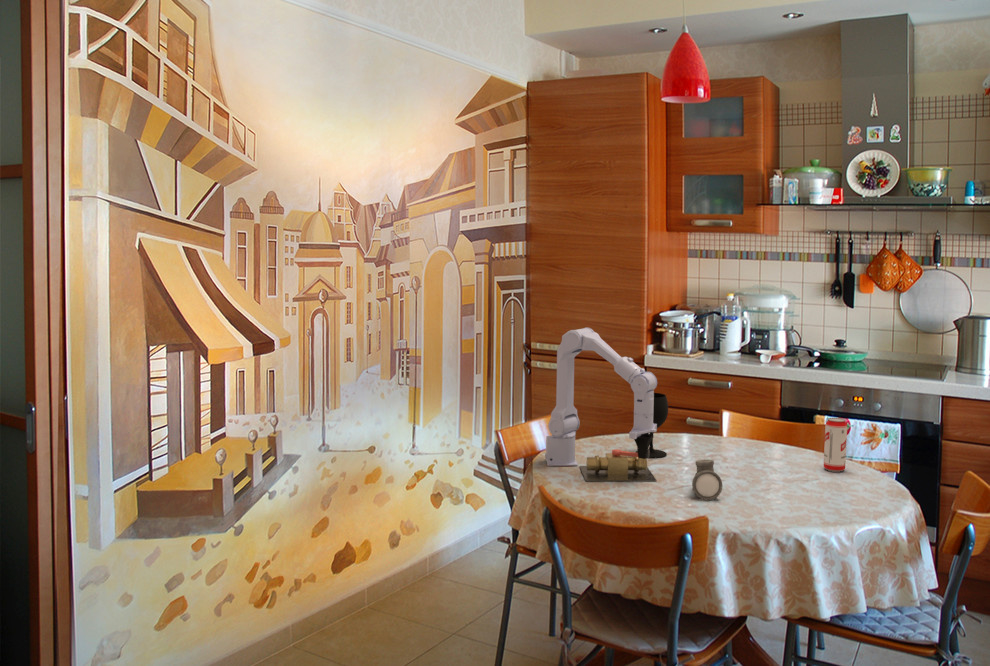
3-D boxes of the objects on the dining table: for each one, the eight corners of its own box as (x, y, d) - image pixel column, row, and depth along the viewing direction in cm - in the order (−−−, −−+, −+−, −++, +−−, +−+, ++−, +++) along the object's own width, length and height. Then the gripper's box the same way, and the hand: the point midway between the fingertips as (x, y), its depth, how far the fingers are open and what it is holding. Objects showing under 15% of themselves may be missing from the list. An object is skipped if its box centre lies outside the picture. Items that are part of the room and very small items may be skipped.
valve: (585, 482, 252) (586, 463, 251) (579, 467, 268) (579, 449, 267) (656, 481, 252) (656, 463, 252) (646, 466, 268) (646, 449, 267)
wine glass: (647, 459, 276) (649, 399, 274) (628, 452, 285) (630, 393, 283) (673, 456, 281) (675, 396, 278) (653, 448, 290) (655, 390, 287)
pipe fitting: (723, 500, 233) (721, 462, 233) (693, 500, 235) (691, 463, 235) (720, 492, 245) (718, 456, 245) (692, 492, 247) (689, 457, 247)
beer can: (845, 468, 266) (848, 418, 264) (844, 473, 260) (847, 422, 258) (824, 466, 268) (826, 416, 266) (822, 471, 263) (824, 420, 261)
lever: (610, 454, 260) (610, 446, 259) (613, 452, 262) (613, 444, 262) (647, 459, 254) (648, 451, 254) (650, 457, 257) (650, 449, 257)
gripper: (645, 419, 245) (644, 465, 247) (666, 410, 257) (665, 454, 258) (623, 416, 249) (622, 461, 251) (645, 408, 261) (644, 451, 263)
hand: (642, 458), depth 255 cm, fingers closed, pressing on lever
